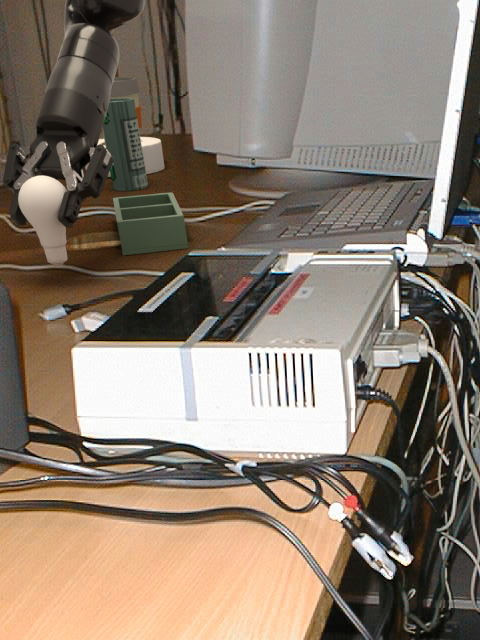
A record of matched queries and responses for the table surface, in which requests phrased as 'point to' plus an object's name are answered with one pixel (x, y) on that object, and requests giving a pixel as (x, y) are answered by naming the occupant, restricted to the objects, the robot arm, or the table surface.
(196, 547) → the table surface
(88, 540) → the table surface
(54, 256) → the lightbulb
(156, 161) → the tape roll
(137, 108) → the reusable coffee cup
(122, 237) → the rack
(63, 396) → the table surface
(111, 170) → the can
